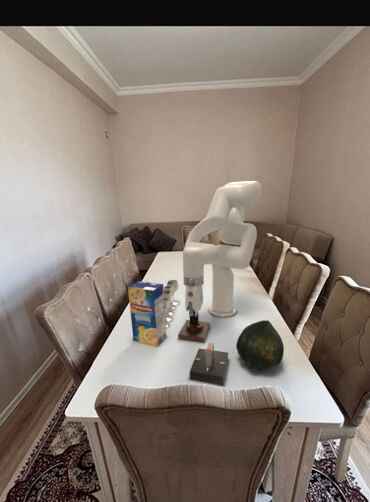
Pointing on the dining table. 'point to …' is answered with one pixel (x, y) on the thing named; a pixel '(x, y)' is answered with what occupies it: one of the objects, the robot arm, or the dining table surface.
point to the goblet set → (169, 298)
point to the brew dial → (209, 354)
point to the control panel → (209, 367)
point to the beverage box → (147, 312)
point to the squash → (260, 346)
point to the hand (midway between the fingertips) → (194, 323)
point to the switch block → (194, 332)
